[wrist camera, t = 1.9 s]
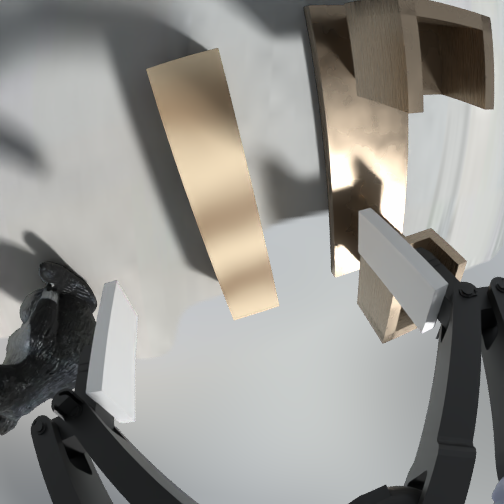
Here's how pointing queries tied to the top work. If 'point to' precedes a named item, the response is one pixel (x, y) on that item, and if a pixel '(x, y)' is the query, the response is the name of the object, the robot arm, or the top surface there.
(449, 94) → the bracket
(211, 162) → the rail
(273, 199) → the top surface
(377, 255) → the robot arm
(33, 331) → the figurine
